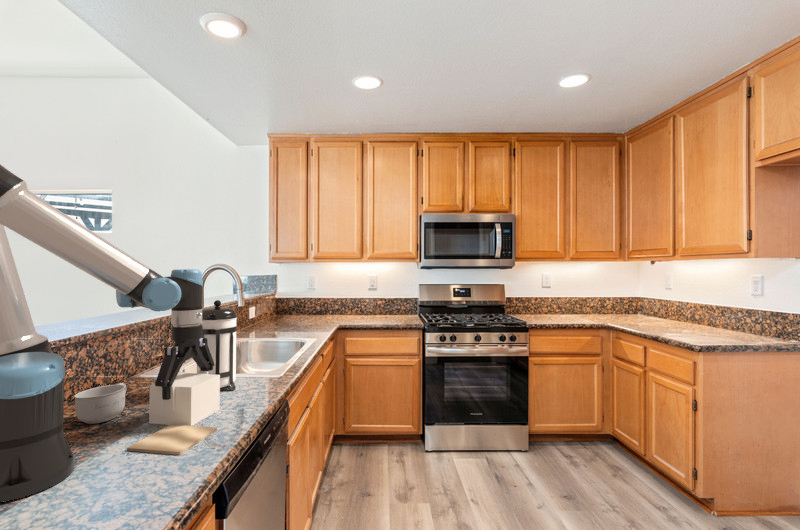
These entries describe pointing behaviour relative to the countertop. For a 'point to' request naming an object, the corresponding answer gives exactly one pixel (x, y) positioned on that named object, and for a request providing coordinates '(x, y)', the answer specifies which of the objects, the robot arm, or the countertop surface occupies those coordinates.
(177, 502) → the countertop surface
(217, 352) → the coffee press
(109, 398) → the teacup
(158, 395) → the cover
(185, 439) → the board
